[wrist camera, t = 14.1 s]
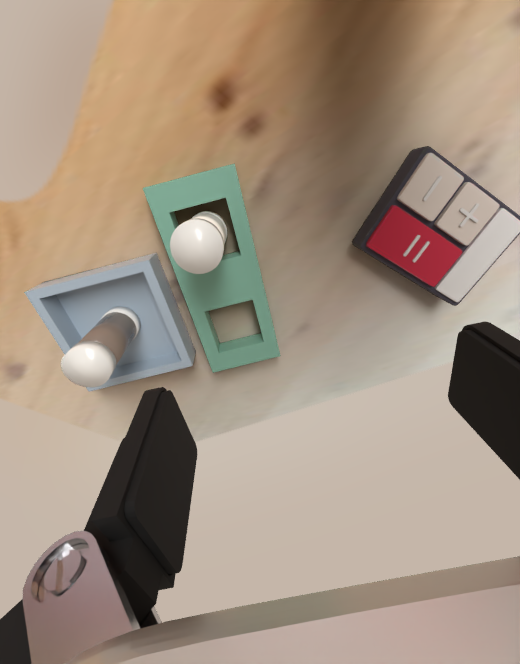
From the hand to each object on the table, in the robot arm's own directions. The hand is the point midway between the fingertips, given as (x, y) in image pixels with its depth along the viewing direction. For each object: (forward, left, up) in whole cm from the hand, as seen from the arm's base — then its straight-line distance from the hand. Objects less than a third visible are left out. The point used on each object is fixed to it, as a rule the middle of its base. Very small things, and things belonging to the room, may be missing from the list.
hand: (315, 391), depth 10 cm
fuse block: (+3, -5, -27) cm, 27 cm away
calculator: (+4, +20, -27) cm, 34 cm away
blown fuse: (+5, -18, -26) cm, 32 cm away
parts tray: (+5, -18, -27) cm, 32 cm away
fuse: (-3, -5, -27) cm, 27 cm away
